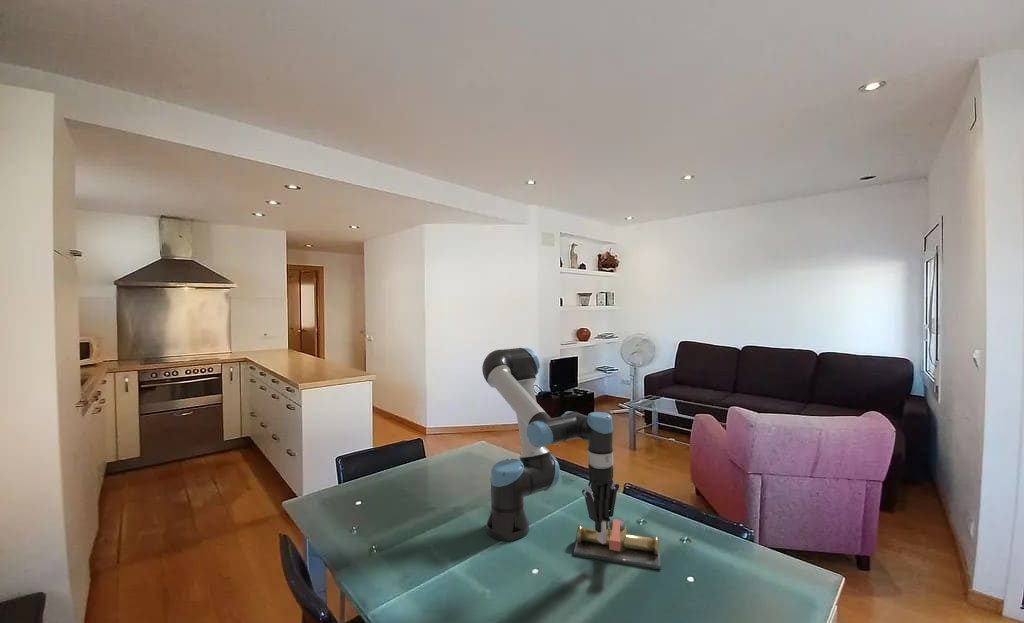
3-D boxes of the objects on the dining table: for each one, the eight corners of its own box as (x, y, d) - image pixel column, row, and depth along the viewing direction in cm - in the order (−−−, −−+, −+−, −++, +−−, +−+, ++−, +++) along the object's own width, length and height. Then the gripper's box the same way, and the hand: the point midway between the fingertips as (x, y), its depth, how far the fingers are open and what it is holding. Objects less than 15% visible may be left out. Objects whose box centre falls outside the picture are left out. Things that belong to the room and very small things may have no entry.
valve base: (573, 555, 130) (573, 533, 130) (579, 531, 144) (579, 512, 144) (660, 569, 123) (660, 546, 123) (658, 543, 136) (658, 522, 136)
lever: (606, 549, 121) (606, 539, 121) (609, 522, 136) (609, 513, 136) (623, 552, 120) (623, 542, 120) (624, 524, 135) (624, 515, 135)
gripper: (591, 472, 119) (592, 553, 119) (625, 464, 125) (626, 541, 125) (575, 464, 126) (576, 540, 126) (608, 456, 132) (609, 529, 132)
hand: (601, 541), depth 126 cm, fingers closed
